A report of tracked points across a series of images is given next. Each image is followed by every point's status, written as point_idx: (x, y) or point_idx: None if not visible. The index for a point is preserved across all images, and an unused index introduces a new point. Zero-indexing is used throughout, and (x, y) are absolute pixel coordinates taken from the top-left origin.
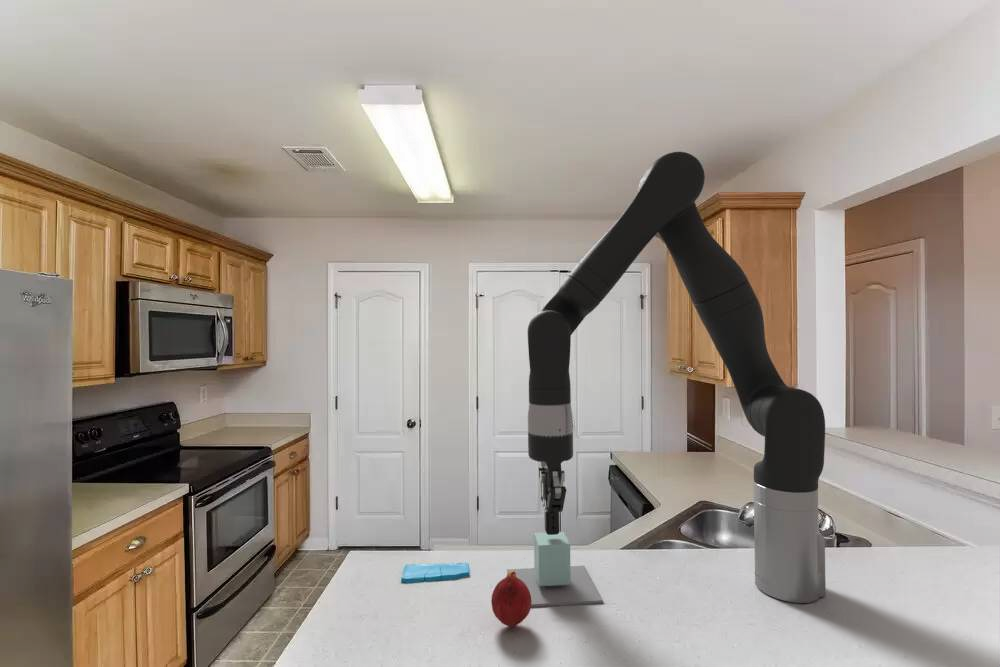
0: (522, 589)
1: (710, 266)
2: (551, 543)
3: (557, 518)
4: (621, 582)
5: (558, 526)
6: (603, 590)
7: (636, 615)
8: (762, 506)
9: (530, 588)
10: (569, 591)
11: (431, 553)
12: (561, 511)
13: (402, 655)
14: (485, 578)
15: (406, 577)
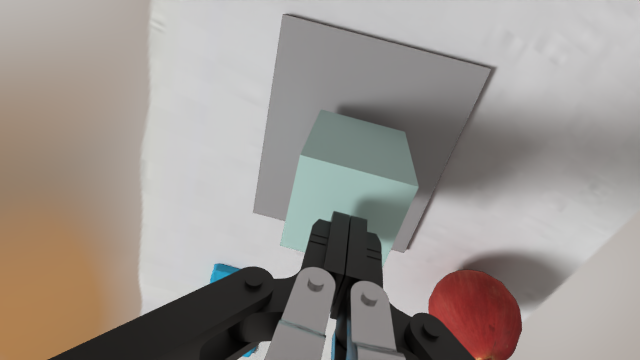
0: (515, 335)
1: None
2: (384, 237)
3: (382, 277)
4: None
5: (366, 237)
6: (431, 28)
7: (600, 8)
8: None
9: None
10: (406, 131)
11: (149, 296)
12: (438, 323)
13: None
14: (272, 253)
15: (247, 352)
